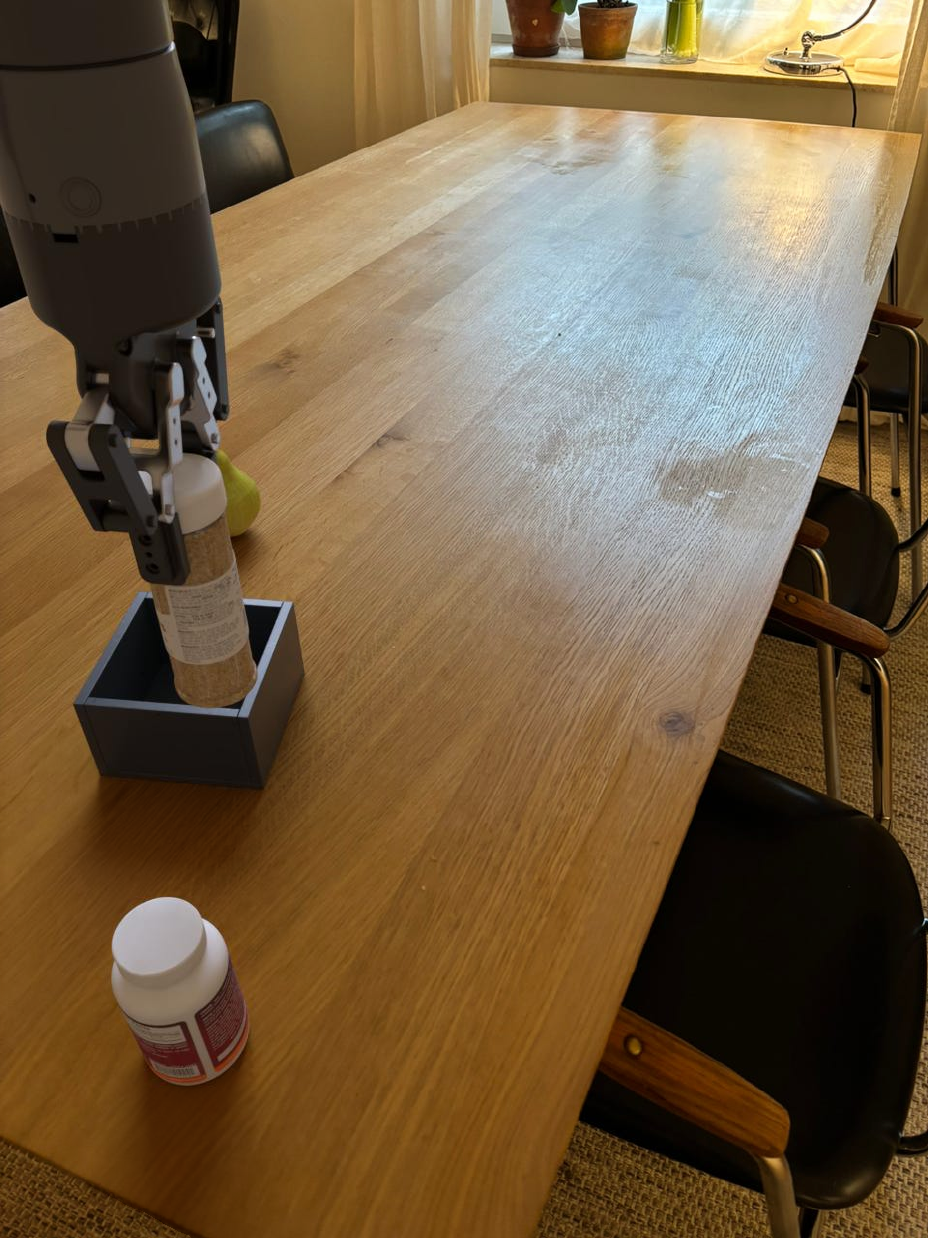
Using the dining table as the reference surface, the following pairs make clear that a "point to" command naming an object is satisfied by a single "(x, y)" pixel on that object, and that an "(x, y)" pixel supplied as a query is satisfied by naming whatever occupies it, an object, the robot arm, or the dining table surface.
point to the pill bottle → (178, 991)
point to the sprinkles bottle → (205, 595)
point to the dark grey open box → (173, 729)
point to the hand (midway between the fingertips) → (186, 546)
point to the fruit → (238, 496)
